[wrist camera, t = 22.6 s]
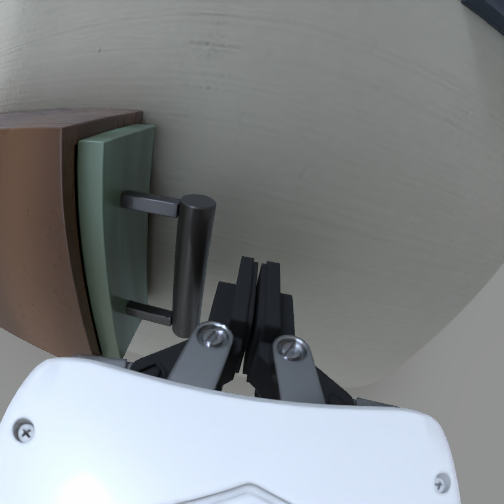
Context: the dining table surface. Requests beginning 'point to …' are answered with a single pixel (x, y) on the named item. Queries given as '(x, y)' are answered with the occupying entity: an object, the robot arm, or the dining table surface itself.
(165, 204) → the drawer
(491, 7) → the tray
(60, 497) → the robot arm
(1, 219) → the cabinet
